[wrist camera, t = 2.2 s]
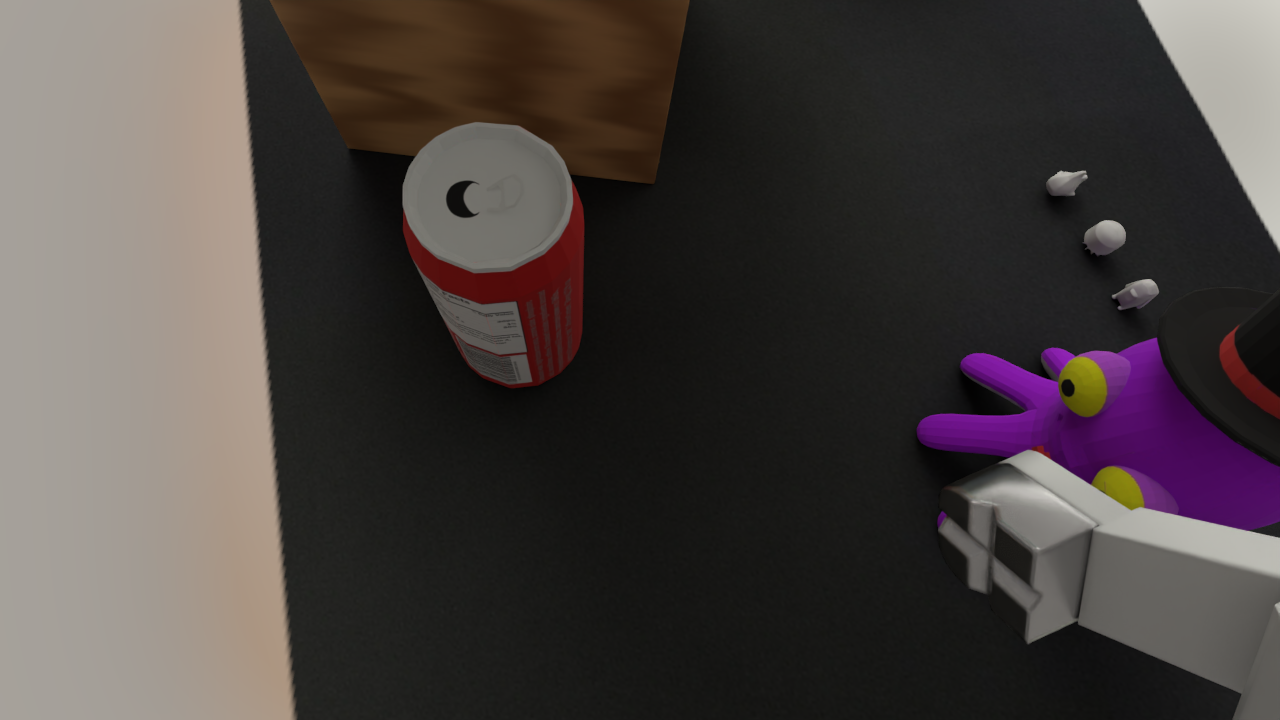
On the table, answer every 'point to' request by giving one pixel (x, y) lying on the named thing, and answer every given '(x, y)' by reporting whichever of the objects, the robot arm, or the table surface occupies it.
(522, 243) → the soda can
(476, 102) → the wooden planter base
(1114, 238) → the game pieces
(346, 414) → the table surface
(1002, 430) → the toy
